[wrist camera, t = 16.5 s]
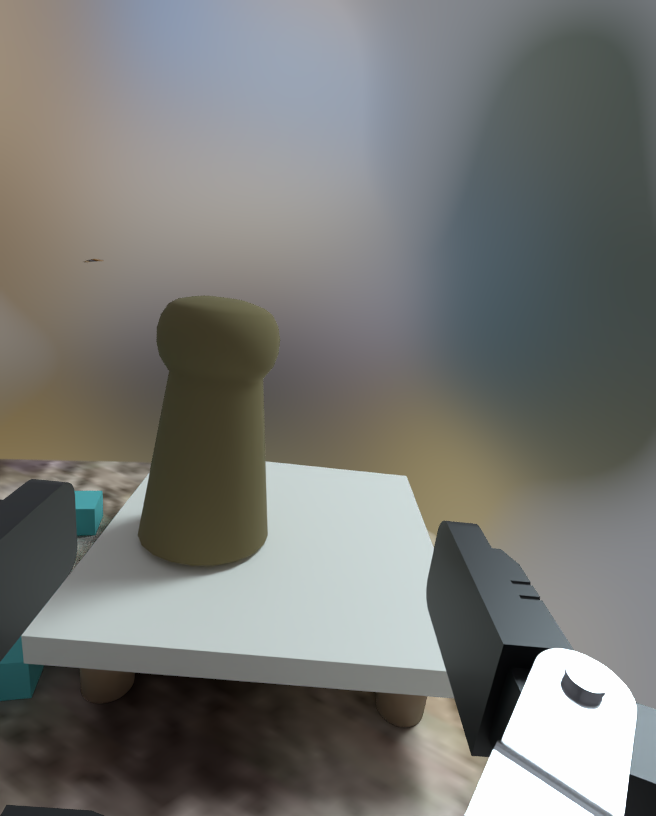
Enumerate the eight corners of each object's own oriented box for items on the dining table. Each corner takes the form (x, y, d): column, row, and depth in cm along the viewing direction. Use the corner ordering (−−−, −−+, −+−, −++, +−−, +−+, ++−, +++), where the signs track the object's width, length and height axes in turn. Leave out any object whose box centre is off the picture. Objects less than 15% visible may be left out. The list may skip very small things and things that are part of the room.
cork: (203, 583, 19) (225, 303, 17) (109, 529, 22) (115, 284, 19) (292, 530, 24) (319, 310, 22) (206, 492, 27) (221, 294, 25)
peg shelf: (29, 723, 18) (21, 635, 16) (165, 505, 33) (166, 451, 32) (459, 756, 18) (481, 673, 17) (396, 527, 34) (406, 476, 32)
